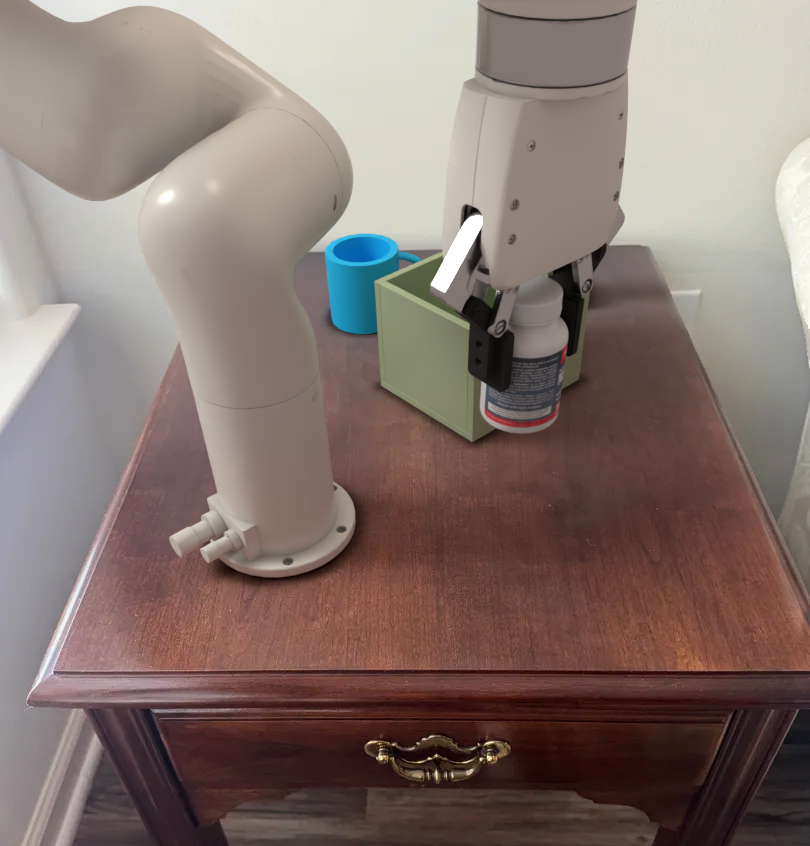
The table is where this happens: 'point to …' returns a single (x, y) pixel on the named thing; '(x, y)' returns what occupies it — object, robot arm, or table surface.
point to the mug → (359, 278)
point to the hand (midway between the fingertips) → (522, 361)
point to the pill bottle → (531, 362)
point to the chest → (436, 349)
